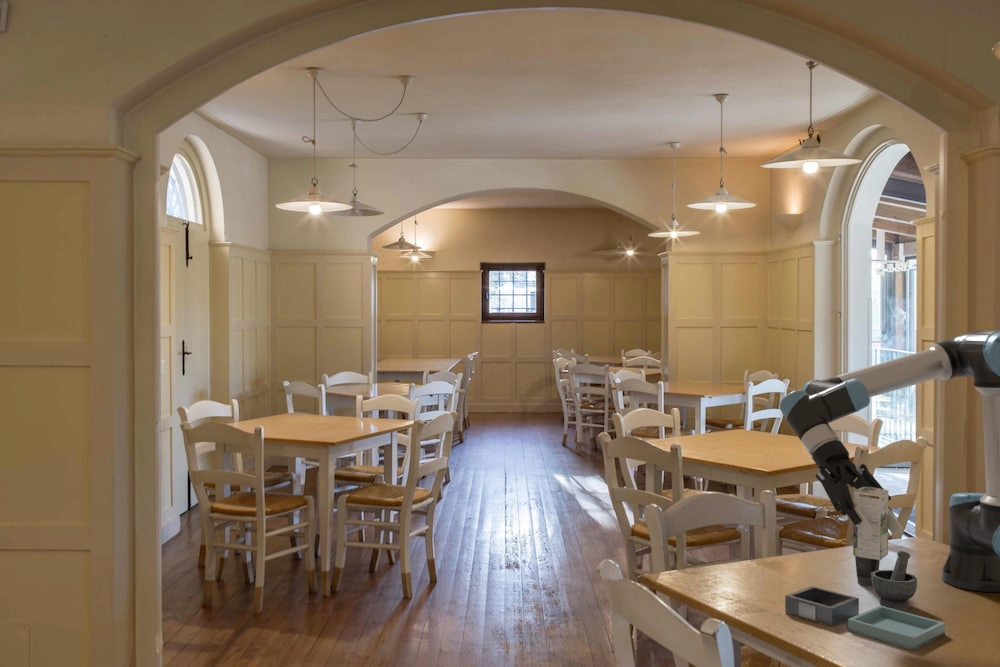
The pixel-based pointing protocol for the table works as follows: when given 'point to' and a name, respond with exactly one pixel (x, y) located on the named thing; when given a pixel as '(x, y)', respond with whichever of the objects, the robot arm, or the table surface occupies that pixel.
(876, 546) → the syrup box
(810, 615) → the square open bin
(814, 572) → the table surface
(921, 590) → the table surface
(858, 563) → the beverage cup
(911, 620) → the tray
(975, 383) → the robot arm
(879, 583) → the mortar and pestle
